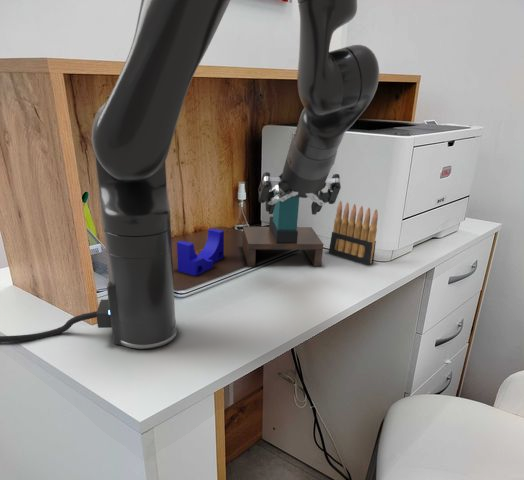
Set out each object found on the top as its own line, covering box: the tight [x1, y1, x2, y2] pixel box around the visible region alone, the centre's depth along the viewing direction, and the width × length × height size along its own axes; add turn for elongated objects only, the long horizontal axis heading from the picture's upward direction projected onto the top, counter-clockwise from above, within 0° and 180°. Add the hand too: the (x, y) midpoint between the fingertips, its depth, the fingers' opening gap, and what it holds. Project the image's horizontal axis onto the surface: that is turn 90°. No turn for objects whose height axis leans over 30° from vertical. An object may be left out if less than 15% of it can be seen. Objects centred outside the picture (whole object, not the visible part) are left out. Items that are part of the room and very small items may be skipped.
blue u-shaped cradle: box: [176, 228, 225, 277], centre depth 103 cm, size 12×4×6 cm, turn 149°
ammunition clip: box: [328, 200, 379, 266], centre depth 109 cm, size 11×2×12 cm, turn 51°
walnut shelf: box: [241, 226, 324, 268], centre depth 110 cm, size 16×12×5 cm
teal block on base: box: [268, 192, 300, 243], centre depth 106 cm, size 4×11×10 cm, turn 7°
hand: (291, 210), depth 96 cm, fingers open, 8 cm apart
